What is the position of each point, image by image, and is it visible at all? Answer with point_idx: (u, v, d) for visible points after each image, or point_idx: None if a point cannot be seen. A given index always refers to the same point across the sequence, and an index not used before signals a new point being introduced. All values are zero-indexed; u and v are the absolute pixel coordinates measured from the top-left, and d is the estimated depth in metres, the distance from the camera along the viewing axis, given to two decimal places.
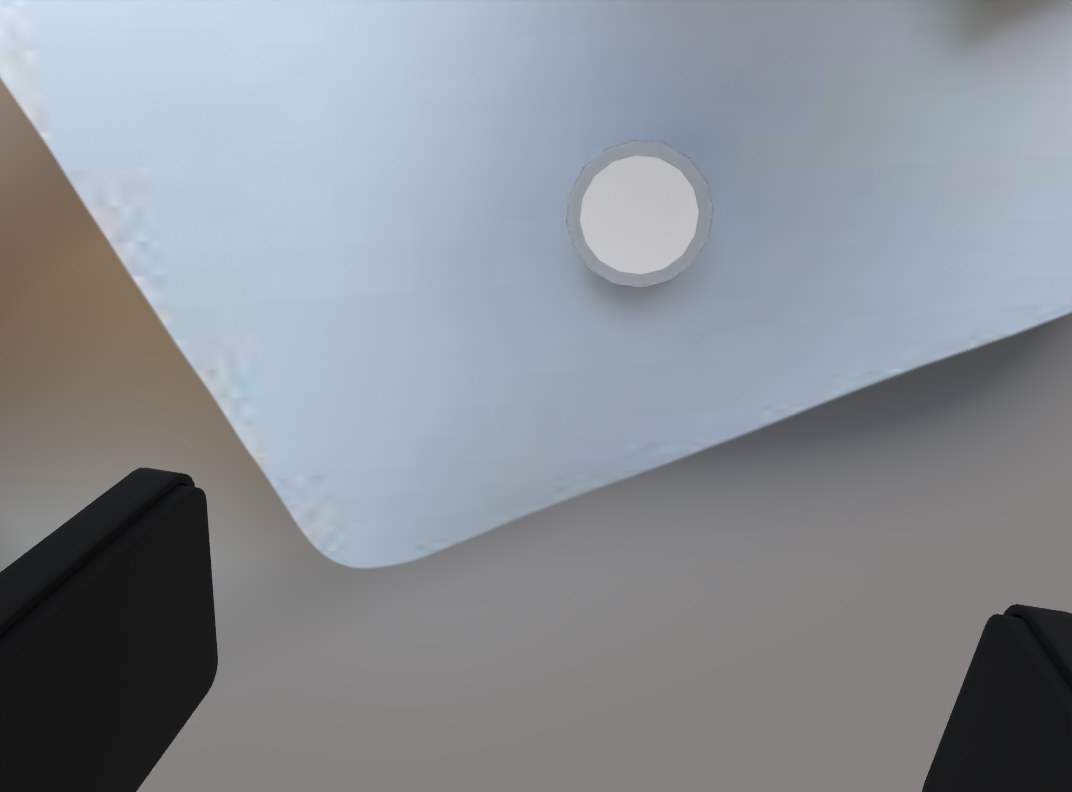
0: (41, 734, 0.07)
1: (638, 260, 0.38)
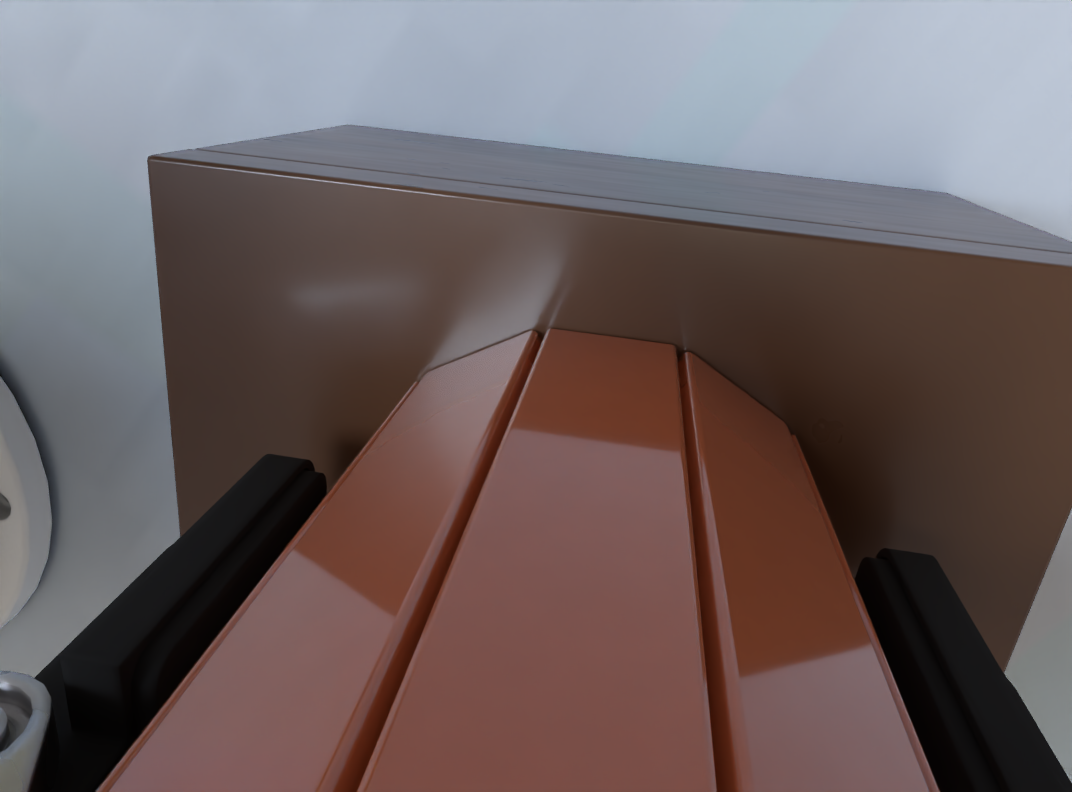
0: None
1: None
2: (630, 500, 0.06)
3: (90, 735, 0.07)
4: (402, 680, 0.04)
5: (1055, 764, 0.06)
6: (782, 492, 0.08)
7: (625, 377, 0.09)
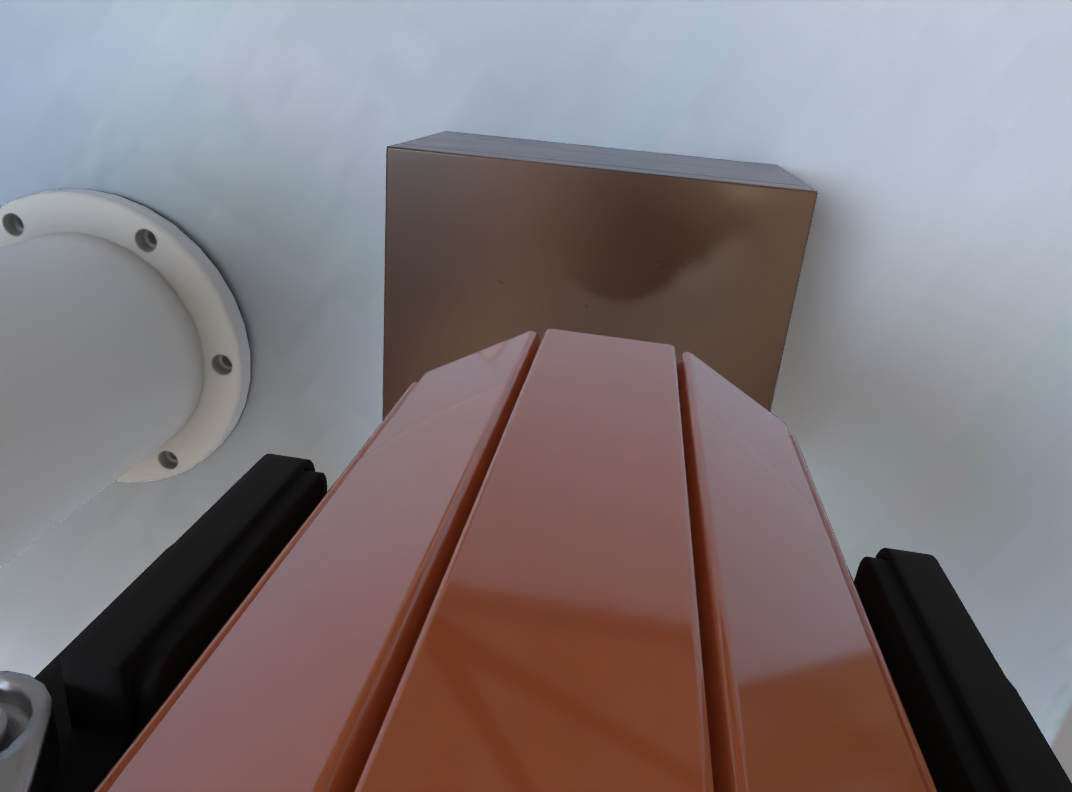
0: None
1: None
2: (628, 500, 0.06)
3: (90, 735, 0.07)
4: (400, 679, 0.04)
5: (1055, 764, 0.06)
6: (780, 492, 0.08)
7: (624, 377, 0.09)
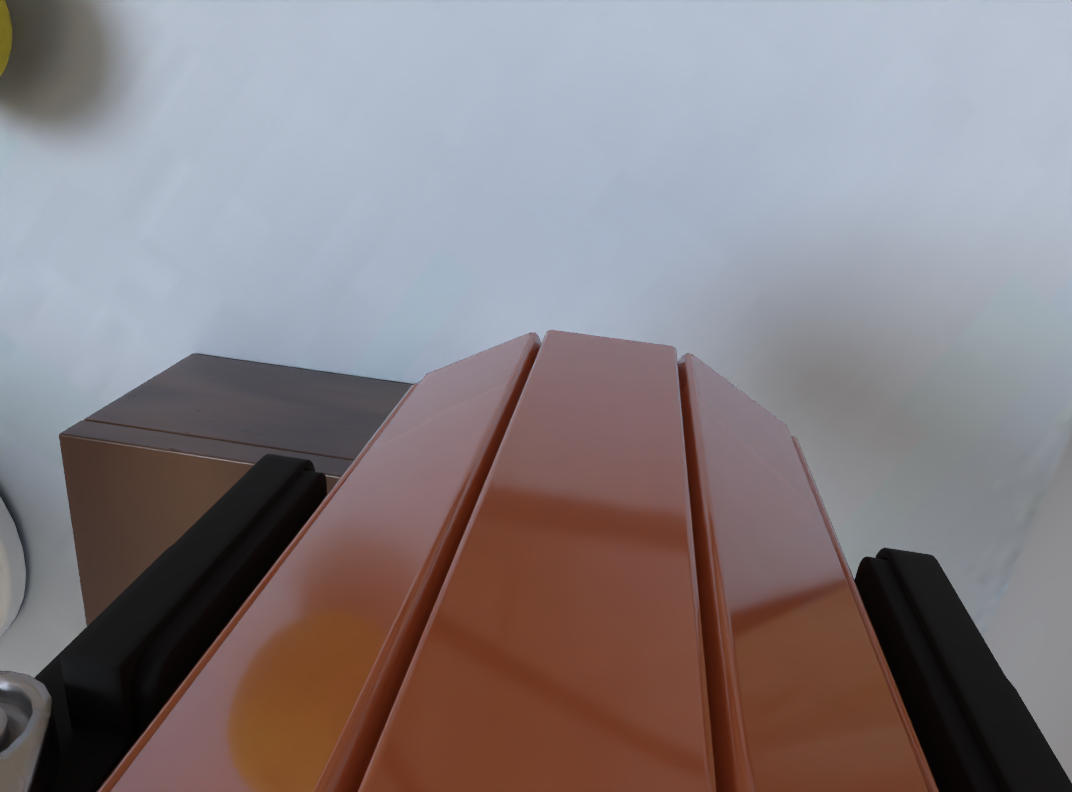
0: None
1: None
2: (630, 502, 0.06)
3: (90, 735, 0.07)
4: (401, 685, 0.04)
5: (1055, 763, 0.06)
6: (782, 494, 0.08)
7: (625, 379, 0.09)
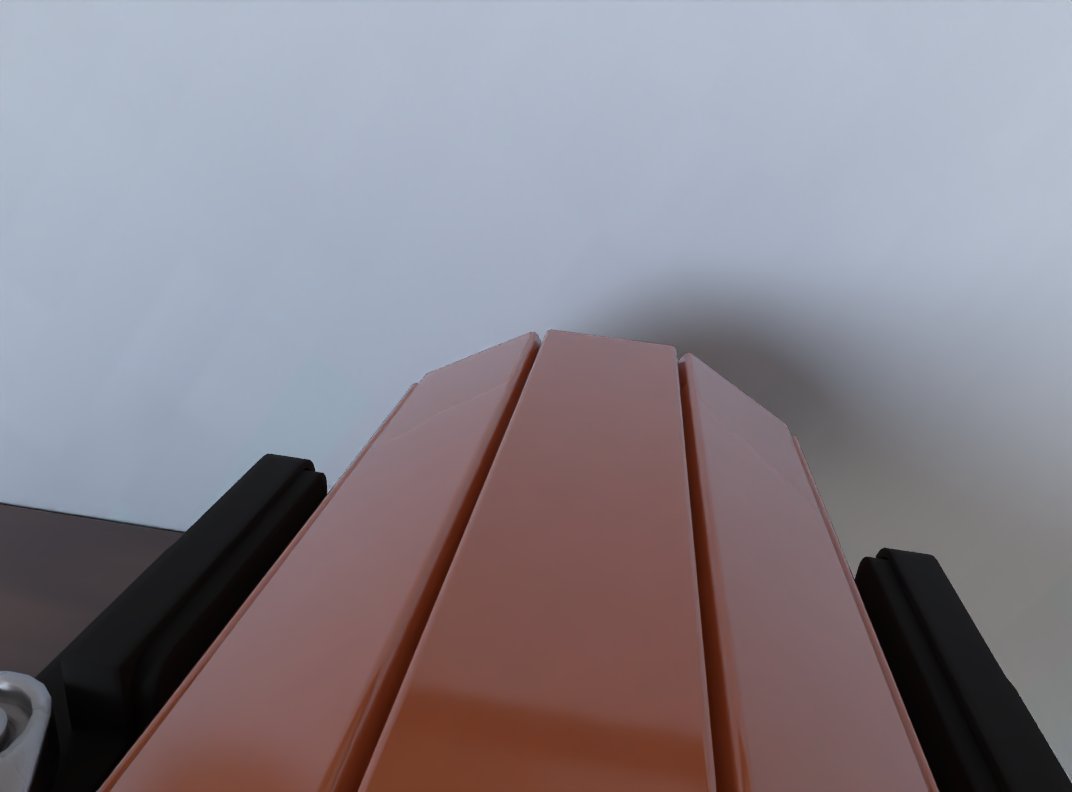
0: None
1: None
2: (630, 502, 0.06)
3: (90, 735, 0.07)
4: (401, 684, 0.04)
5: (1055, 764, 0.06)
6: (782, 494, 0.08)
7: (625, 378, 0.09)
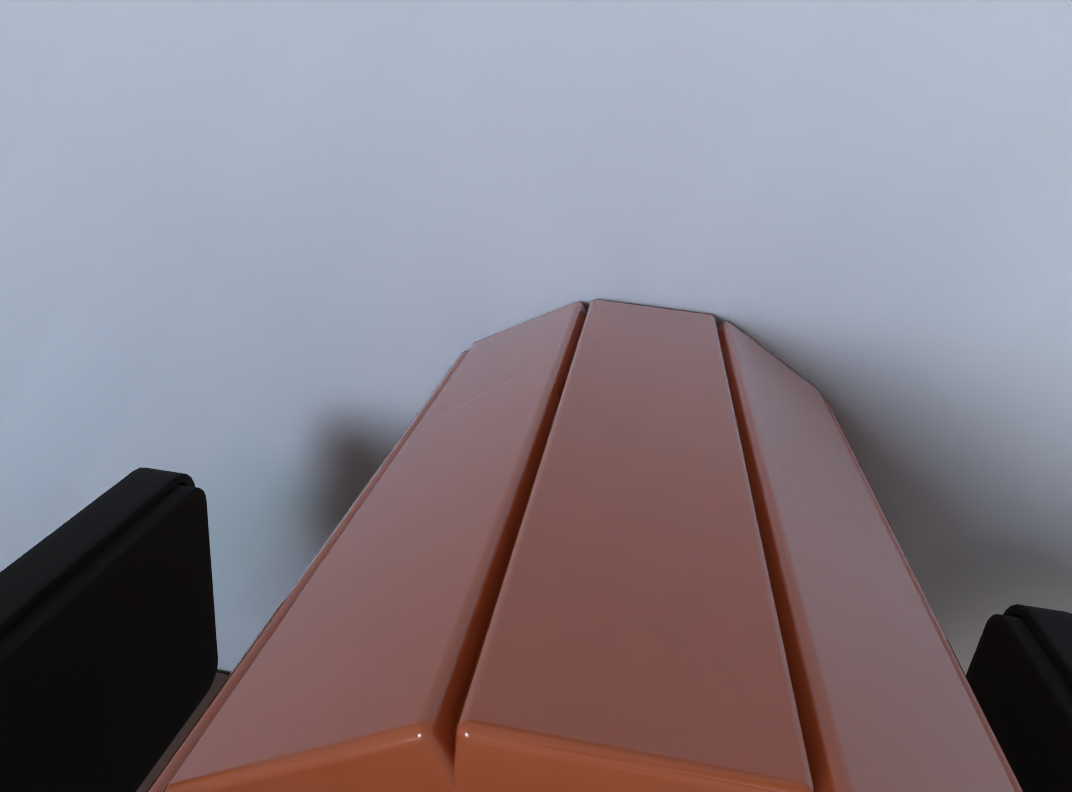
0: (41, 734, 0.07)
1: None
2: (686, 442, 0.07)
3: None
4: (502, 581, 0.05)
5: None
6: (821, 446, 0.08)
7: (670, 342, 0.09)
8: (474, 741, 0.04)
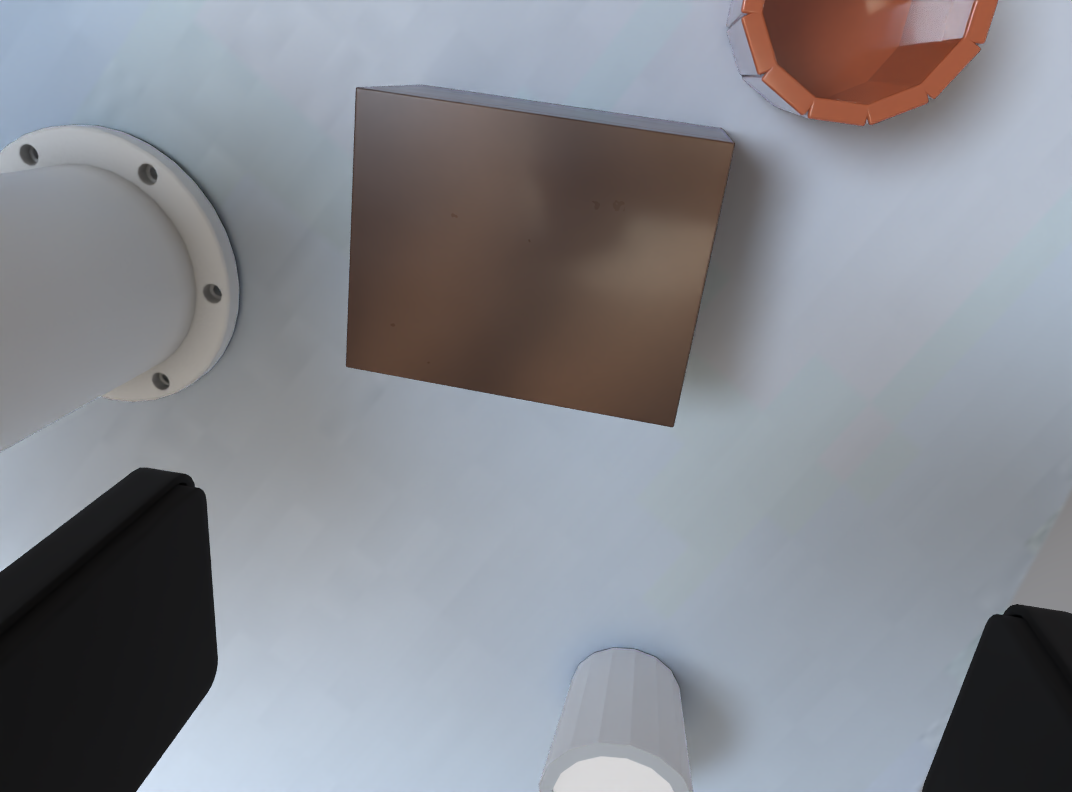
0: (41, 733, 0.07)
1: None
2: None
3: None
4: None
5: None
6: None
7: None
8: None
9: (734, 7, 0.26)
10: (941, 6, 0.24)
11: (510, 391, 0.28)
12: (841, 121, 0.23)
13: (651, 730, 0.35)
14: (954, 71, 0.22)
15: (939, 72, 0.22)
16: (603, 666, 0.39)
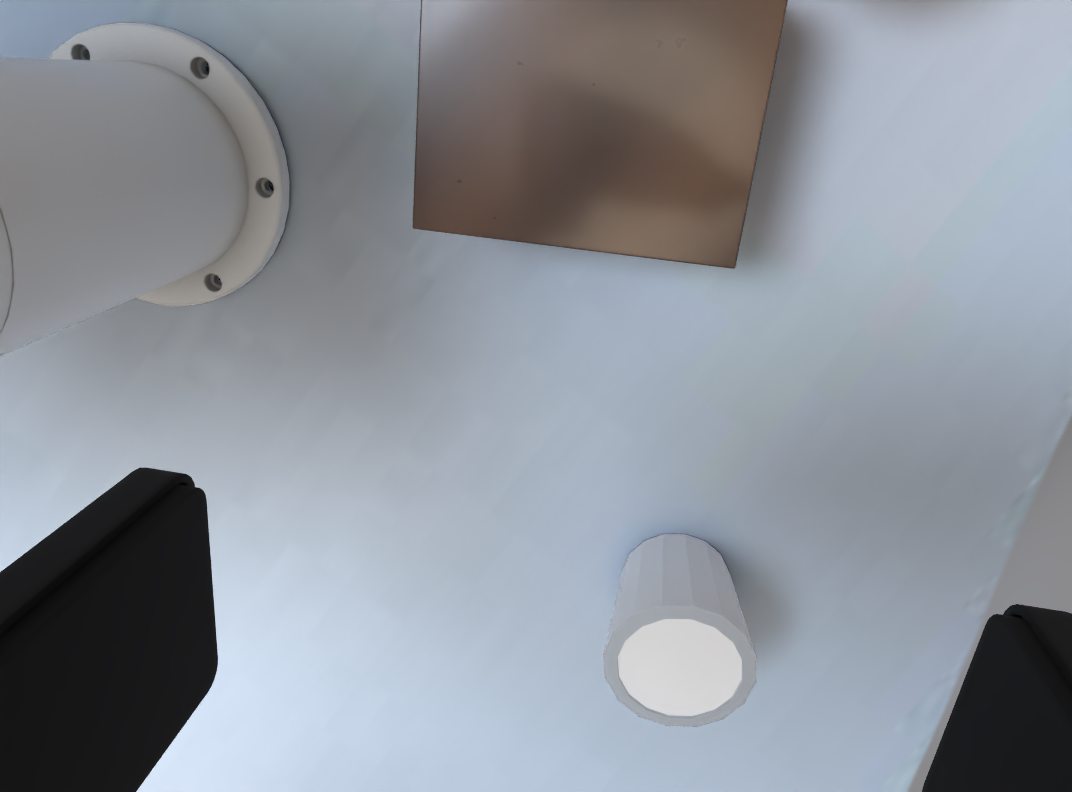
0: (41, 734, 0.07)
1: (717, 691, 0.36)
2: None
3: None
4: None
5: None
6: None
7: None
8: None
9: None
10: None
11: (575, 242, 0.29)
12: None
13: (711, 595, 0.36)
14: None
15: None
16: (655, 549, 0.40)
